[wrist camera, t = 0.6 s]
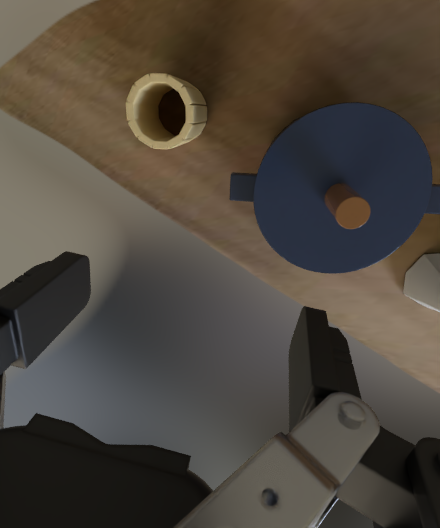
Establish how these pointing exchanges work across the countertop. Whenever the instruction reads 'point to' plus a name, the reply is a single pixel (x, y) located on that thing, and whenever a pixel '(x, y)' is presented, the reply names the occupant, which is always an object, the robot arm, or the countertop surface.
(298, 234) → the pot lid
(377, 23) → the countertop surface
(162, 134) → the pale yellow hollow cylinder
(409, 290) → the flask
